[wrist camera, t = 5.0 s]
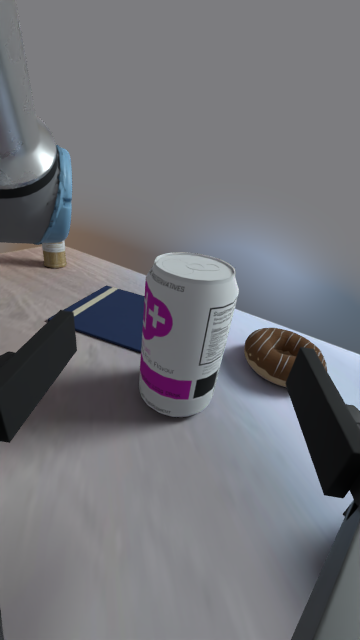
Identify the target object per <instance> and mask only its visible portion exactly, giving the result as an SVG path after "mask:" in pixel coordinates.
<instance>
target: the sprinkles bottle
mask: <svg viewBox="0 0 360 640" xmlns="http://www.w3.org/2000/svg"><path fill="white" fill-rule="evenodd" d="M42 248H43V255H44V265H45V266H47V267H50V268H61V267H64V266H66V258H65V242H64V241H62V242H59V243H42Z"/></svg>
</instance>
